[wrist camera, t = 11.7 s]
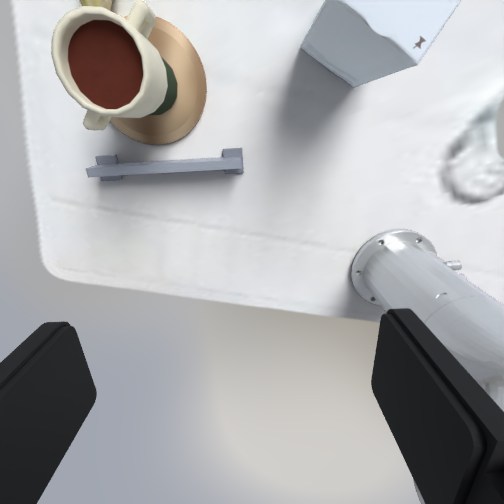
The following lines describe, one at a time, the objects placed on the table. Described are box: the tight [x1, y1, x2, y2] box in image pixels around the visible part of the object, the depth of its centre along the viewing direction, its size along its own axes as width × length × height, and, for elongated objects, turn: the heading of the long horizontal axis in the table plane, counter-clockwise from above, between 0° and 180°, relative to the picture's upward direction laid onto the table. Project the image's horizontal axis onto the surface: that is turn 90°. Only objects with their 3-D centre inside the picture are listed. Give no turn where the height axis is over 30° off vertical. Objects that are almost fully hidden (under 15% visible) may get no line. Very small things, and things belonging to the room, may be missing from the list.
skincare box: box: [301, 0, 461, 87], centre depth 26 cm, size 8×6×15 cm
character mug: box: [51, 0, 178, 130], centre depth 27 cm, size 11×7×13 cm, turn 145°
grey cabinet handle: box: [86, 148, 243, 181], centre depth 36 cm, size 18×3×4 cm, turn 93°
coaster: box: [110, 16, 207, 144], centre depth 34 cm, size 13×13×1 cm
